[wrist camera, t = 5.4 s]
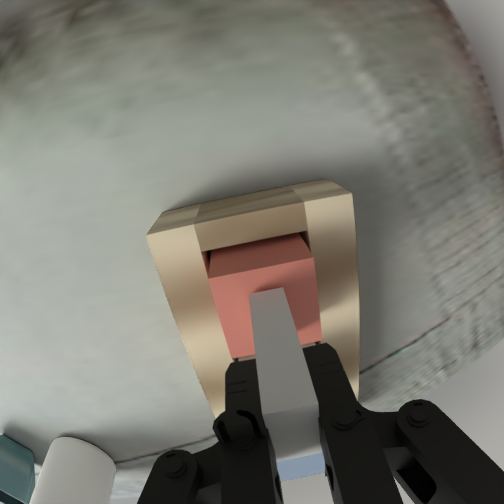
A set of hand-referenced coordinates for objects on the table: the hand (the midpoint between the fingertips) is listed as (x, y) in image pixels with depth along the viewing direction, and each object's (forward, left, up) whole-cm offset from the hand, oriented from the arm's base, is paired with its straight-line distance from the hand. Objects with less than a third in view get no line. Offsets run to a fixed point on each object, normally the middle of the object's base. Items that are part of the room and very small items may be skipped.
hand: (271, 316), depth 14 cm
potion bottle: (+30, -11, -7) cm, 32 cm away
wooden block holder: (+6, +3, -6) cm, 9 cm away
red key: (0, 0, -5) cm, 5 cm away
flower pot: (+38, -22, -7) cm, 44 cm away
